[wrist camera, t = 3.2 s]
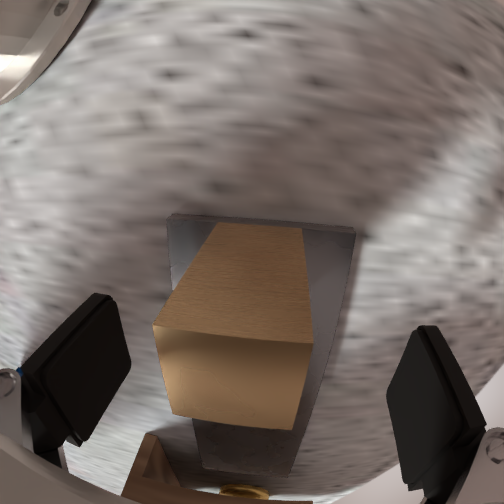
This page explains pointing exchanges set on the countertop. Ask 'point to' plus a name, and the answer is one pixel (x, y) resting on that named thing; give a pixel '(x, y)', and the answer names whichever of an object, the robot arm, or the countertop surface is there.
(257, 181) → the countertop surface
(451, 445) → the robot arm
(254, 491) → the brass token
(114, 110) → the countertop surface
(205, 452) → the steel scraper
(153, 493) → the walnut cabinet
